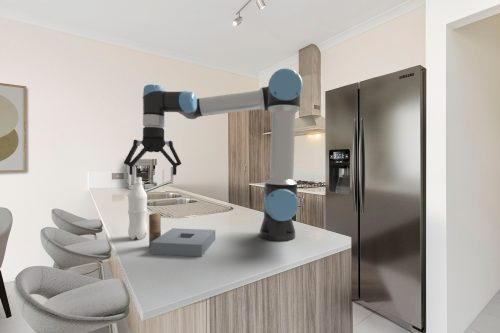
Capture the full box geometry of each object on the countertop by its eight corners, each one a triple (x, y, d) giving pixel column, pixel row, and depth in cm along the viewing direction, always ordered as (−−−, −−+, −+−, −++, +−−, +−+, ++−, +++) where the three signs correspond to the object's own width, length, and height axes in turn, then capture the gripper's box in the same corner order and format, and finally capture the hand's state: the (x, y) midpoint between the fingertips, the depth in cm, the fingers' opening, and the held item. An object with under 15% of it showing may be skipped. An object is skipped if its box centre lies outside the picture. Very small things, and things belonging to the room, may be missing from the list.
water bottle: (140, 241, 99) (140, 178, 99) (124, 240, 101) (123, 177, 100) (150, 235, 106) (150, 176, 106) (135, 234, 108) (135, 176, 107)
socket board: (215, 239, 102) (215, 229, 102) (201, 256, 84) (201, 244, 84) (172, 237, 104) (172, 228, 104) (150, 253, 86) (150, 242, 86)
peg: (162, 245, 95) (162, 213, 95) (157, 248, 91) (157, 215, 91) (152, 244, 95) (152, 213, 95) (147, 248, 92) (146, 215, 91)
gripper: (188, 130, 101) (187, 182, 102) (121, 127, 96) (120, 182, 97) (187, 127, 94) (186, 184, 94) (114, 124, 89) (114, 184, 90)
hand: (153, 183), depth 96 cm, fingers open, 13 cm apart
